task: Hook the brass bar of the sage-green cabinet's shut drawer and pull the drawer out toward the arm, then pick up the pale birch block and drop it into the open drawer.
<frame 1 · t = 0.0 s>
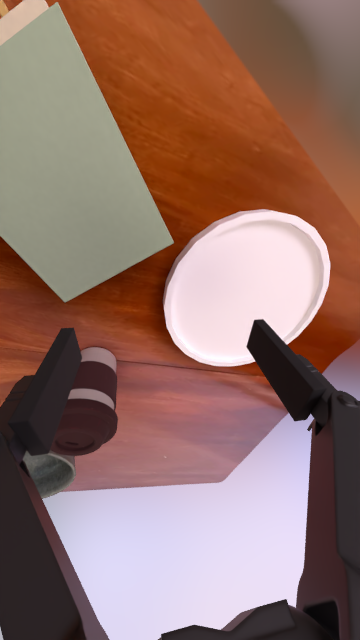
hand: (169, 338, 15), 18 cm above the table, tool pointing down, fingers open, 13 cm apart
coffee cup: (96, 359, 39), on the table
cabinet: (88, 193, 24), on the table
bowl: (37, 429, 47), on the table
drawer: (42, 142, 18), point 5 cm above the table, slide at 0.0 cm, touching cabinet
plate: (241, 298, 36), on the table
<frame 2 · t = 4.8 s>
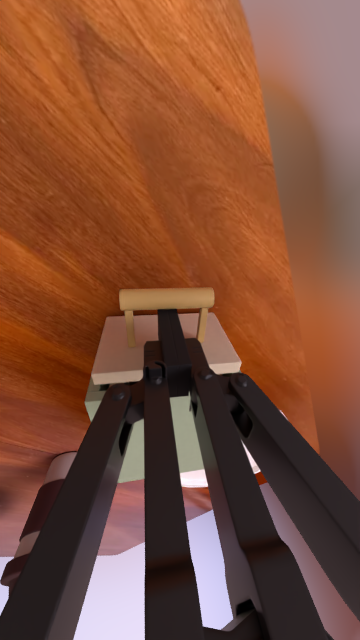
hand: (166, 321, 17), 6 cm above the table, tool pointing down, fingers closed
coffee cup: (74, 459, 38), on the table
cabinet: (161, 368, 28), on the table
drawer: (165, 368, 21), point 5 cm above the table, slide at 0.6 cm, touching gripper
plate: (223, 443, 43), on the table
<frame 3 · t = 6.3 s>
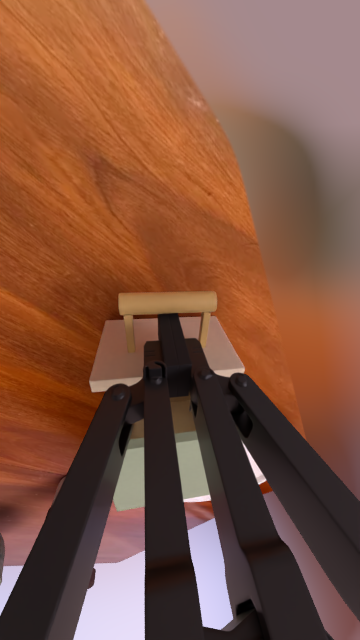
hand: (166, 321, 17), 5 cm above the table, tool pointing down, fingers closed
cabinet: (162, 401, 31), on the table
drawer: (165, 373, 21), point 5 cm above the table, slide at 6.8 cm, touching gripper
plate: (219, 461, 46), on the table
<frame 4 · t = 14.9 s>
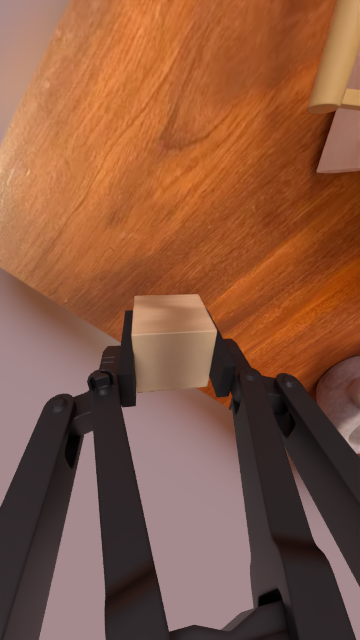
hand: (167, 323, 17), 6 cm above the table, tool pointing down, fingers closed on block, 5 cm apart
mortar: (340, 375, 35), on the table
block: (166, 321, 17), point 6 cm above the table, touching gripper
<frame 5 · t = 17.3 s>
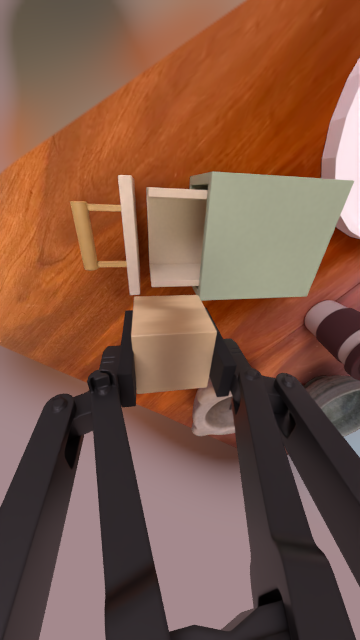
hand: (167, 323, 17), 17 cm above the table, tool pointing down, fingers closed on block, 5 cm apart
mortar: (219, 379, 49), on the table
coffee cup: (319, 314, 43), on the table
cabinet: (235, 231, 31), on the table
bowl: (315, 385, 57), on the table
drawer: (162, 236, 25), point 5 cm above the table, slide at 7.1 cm
block: (166, 322, 17), point 17 cm above the table, touching gripper
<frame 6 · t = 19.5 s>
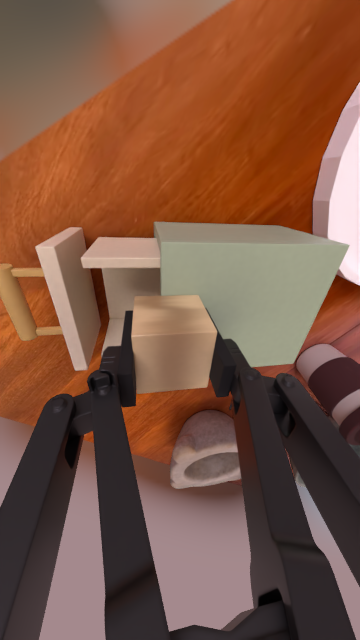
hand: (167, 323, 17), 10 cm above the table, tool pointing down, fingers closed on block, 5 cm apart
mortar: (203, 422, 45), on the table
coffee cup: (312, 356, 39), on the table
cabinet: (212, 277, 26), on the table
drawer: (116, 297, 20), point 5 cm above the table, slide at 7.1 cm
block: (166, 322, 17), point 10 cm above the table, touching gripper
when the fingers open (10 cm above the table, at t = 19.8 s): block stays where it is, resting on cabinet.
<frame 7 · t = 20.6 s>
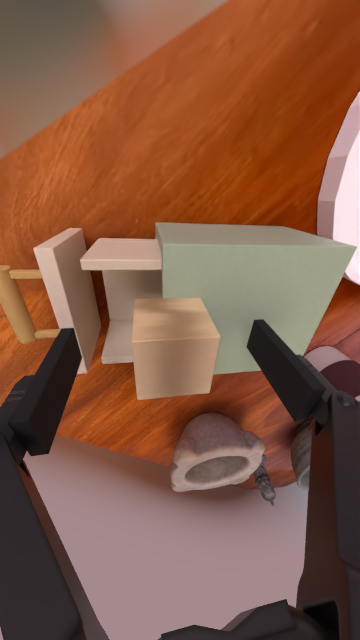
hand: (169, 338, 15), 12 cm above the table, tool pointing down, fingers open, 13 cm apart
mortar: (204, 424, 44), on the table
salt shaker: (248, 445, 53), on the table
coffee cup: (315, 359, 38), on the table
cabinet: (214, 279, 26), on the table
bowl: (312, 425, 53), on the table
drawer: (117, 299, 20), point 5 cm above the table, slide at 7.1 cm
block: (167, 325, 17), point 10 cm above the table, touching cabinet
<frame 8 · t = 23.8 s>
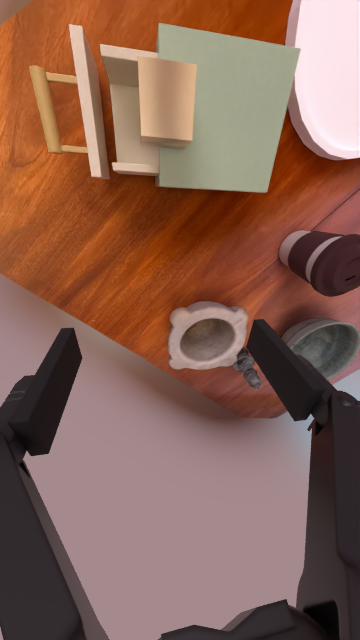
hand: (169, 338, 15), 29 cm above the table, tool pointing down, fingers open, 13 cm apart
mortar: (197, 320, 50), on the table
salt shaker: (238, 354, 59), on the table
coffee cup: (293, 247, 44), on the table
cabinet: (202, 140, 32), on the table
bowl: (295, 334, 58), on the table
drawer: (124, 124, 26), point 5 cm above the table, slide at 7.1 cm
block: (162, 117, 23), point 10 cm above the table, touching cabinet
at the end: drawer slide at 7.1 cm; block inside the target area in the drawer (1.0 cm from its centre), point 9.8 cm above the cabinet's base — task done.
